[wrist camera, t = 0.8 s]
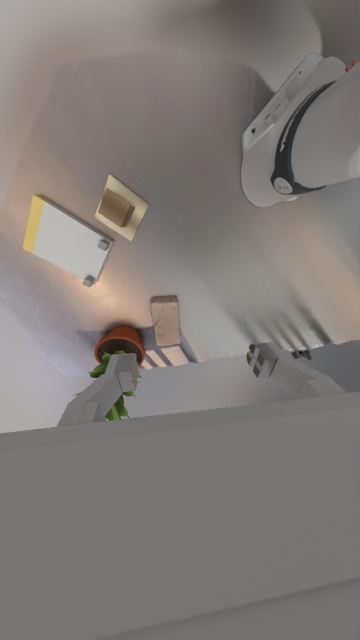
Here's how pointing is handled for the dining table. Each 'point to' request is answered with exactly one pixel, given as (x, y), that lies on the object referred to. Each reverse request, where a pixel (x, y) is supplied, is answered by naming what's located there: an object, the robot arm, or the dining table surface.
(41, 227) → the dock
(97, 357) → the potted plant
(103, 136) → the dining table surface
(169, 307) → the brick
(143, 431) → the robot arm
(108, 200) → the wooden block on base
